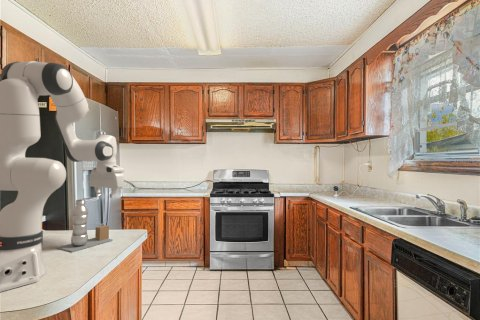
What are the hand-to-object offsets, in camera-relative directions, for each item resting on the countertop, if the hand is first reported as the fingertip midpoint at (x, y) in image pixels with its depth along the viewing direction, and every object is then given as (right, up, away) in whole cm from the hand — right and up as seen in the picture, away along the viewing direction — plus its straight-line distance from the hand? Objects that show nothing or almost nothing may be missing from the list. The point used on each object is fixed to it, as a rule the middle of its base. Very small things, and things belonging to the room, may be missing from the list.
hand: (105, 196), depth 135 cm
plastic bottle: (-6, -20, -11) cm, 24 cm away
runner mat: (-5, -20, -8) cm, 23 cm away
